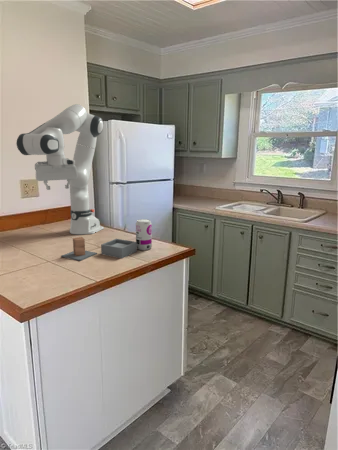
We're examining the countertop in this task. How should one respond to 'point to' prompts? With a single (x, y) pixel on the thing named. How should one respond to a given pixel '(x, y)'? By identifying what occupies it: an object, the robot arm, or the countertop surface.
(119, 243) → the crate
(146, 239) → the supplement can
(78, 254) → the block
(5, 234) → the countertop surface
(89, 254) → the mat
